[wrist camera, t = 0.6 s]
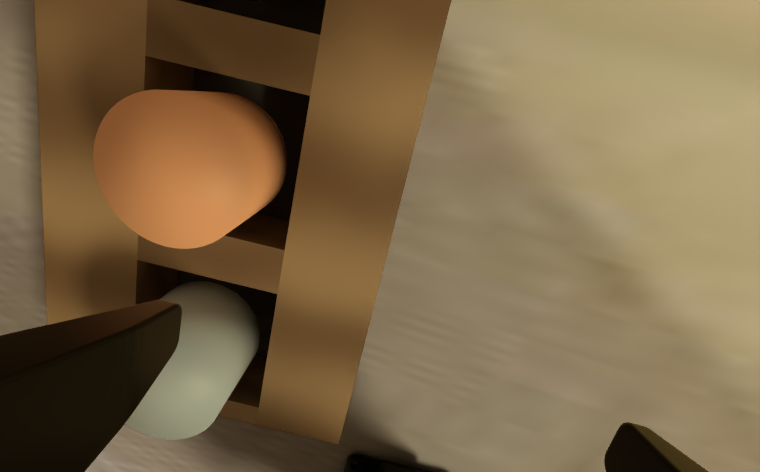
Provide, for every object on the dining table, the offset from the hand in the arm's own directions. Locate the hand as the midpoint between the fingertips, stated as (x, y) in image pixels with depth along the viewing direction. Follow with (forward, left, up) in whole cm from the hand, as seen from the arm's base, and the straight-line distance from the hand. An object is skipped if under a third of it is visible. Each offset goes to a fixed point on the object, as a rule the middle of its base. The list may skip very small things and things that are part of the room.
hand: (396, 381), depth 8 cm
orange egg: (+2, +8, -9) cm, 12 cm away
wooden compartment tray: (+2, +8, -12) cm, 14 cm away
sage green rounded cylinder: (-6, +8, -9) cm, 13 cm away
